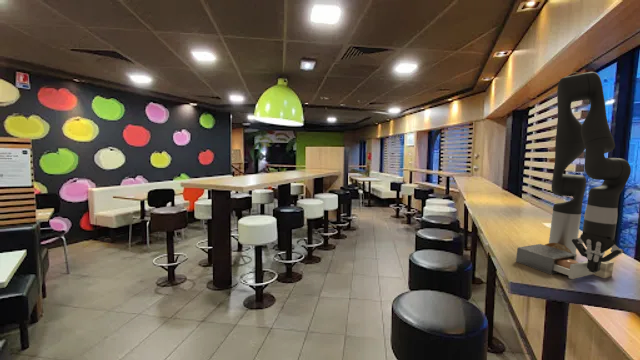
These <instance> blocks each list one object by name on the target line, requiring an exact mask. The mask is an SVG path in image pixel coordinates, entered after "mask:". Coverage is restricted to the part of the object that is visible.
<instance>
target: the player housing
mask: <svg viewBox="0 0 640 360" xmlns="http://www.w3.org/2000/svg"><path fill="white" fill-rule="evenodd" d="M515 257H516V258H515V263H519V264H522V265H524V266H526V265H527V267H529V268H532V269H534V270H537V271H540V272H543V273H546V274H547V275H551V274H552V275H555V273H556V274H561V273H560V272H557V271H554V270H553V269H554V262H555V260H556V259H561V258H569V259H572V260H575V261H577V260H576V259H577V254H573V253H570V252H566V251H563V250H559V249H556V248H552V247H549V246H546V245H545V244H542V243H538V244H532V245H531V244H530V245H524V246H518V247H517V250H516V256H515Z"/></svg>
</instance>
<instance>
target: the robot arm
mask: <svg viewBox="0 0 640 360" xmlns="http://www.w3.org/2000/svg"><path fill="white" fill-rule="evenodd" d="M556 90H557V91H556V92H557V93H556V94H557V95H556V96H557V123H556V134H555V143H554V144H555V145H554V147H555V150H554V166H553V171H552V178H551V180H552V181H551V192H552V193H553V194H554V195H557V196H564V197H570V198H571V197H572V199H571V200H568V201H564V202H557V203H554V204H553V208H552V214H551V223H550V224H551V225H550V231H549V237H548V243H559V244H561V245H565V246H566V247H567V248H569V249H570V251H571V252H572V253H573V254H576V253H577V251H578V253H579V255H580V256H581V257H584V258H586V259H587V261H588V262H587V269H589V271H590V272H593V273H596V272H597V271H599V270H600V266H601V262H607V261H611V260H614V259H615V258H617V257H618V256H620V255H622V254H624V253H625V251H624V248H623V249H622V248H620V247H618V246H617V245H616V241H615V238H616V237H615V236H616V229H617V222H618V215H619V214H618V207H619V201H620V195H621V193H622V192H623V190H624V189H625V186H626V184H627V182H628V180H629V178H630V177H631V176H630V175H631V171H632V169H631V165H630V163H629V162H628V161H627V160H626V159H624V158H620V157H618V158H617V157H606V156H605V154H607V153H610V152H612V151H613V150H614V149H615V147H616V144H615V140H614V137H613V135H612V134H613V133H612V132H611V129H610V127H609V121H608V117H607V109H606V102H605V96H604V87H603V83H602V79H601V76H600V75H599V73H597V72H596V71H588V72H584V73H579V74H573V75H569V76H564V77H562V78H560V80H559V81H558V84H557V89H556ZM585 100H587V101H588V100H589V103H590V104H589V105H590V107H589V111H588V113H587V114H586V117H585V119H584V120H583V122H580V121H579V119H578V118H576V116H575V114H574V113H573V110H572V103H574V102H575V103H576V102H581V101H585ZM584 152H585V153H584ZM583 153H584V165H583V166H584V167H583V168H584V172H585V174H586V175H587V176H588V177H589V178H591V180H592V179H593V180H594V181H595V180H597V181H602V184H601V185H600V186H595V187H591V188H590V189H589V190H588V196H587V204H586V208H585V211H584V215H583V226H582V233H581V234H580V235H579V233H580V226H581V218H582V212H583V211H582V209H583V202H584V197H585V192H586V186H587V178H586V176H585V175H582V174H571V173H569V174H567V173H564V172H565V171H566V169H567V168H568V167H569V166H570V165H571V164H572V163H573V162H574V161H575V160H576V159H578V158H579V157H580V156H581V155H582V154H583ZM608 250H610V253H608V254H607V255H605V253H606V252H607V251H608ZM576 255H577V254H576ZM604 255H605V256H604Z"/></svg>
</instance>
